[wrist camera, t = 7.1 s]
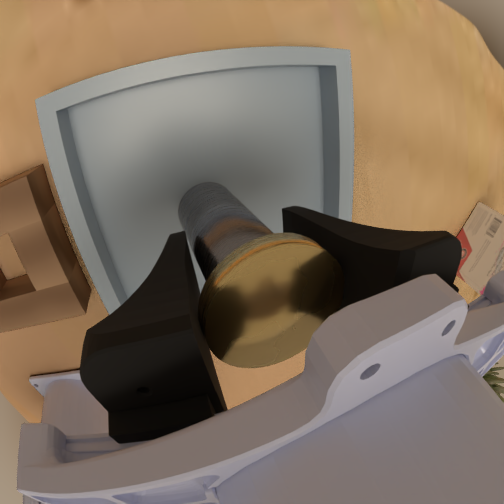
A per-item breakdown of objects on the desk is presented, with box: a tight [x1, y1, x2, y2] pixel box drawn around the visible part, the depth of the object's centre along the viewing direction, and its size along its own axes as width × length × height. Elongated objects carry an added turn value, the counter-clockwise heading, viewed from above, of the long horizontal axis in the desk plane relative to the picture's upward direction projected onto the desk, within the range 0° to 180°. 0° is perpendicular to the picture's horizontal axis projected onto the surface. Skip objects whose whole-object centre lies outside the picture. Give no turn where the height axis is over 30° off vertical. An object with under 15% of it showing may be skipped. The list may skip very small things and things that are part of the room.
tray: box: [35, 46, 354, 315], centre depth 16 cm, size 16×16×2 cm
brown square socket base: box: [0, 164, 91, 333], centre depth 13 cm, size 9×9×2 cm
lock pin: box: [178, 182, 345, 368], centre depth 12 cm, size 4×4×8 cm
